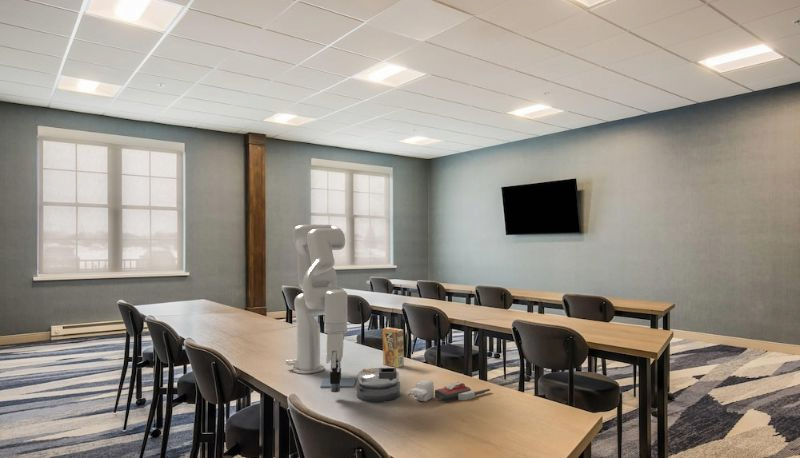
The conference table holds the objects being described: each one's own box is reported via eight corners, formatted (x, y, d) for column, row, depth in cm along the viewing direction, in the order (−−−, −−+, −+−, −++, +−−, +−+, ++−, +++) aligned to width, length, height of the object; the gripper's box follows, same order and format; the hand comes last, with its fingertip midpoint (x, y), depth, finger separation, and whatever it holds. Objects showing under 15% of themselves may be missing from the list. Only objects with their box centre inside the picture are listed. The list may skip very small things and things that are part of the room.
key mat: (320, 387, 169) (320, 386, 169) (323, 379, 179) (323, 377, 179) (353, 387, 169) (353, 385, 169) (355, 379, 179) (355, 377, 179)
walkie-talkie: (447, 406, 150) (492, 394, 162) (447, 392, 150) (491, 381, 162) (430, 398, 158) (474, 388, 169) (430, 385, 158) (474, 375, 169)
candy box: (404, 365, 197) (404, 329, 198) (397, 367, 194) (397, 330, 195) (388, 362, 203) (388, 326, 204) (382, 364, 200) (381, 328, 200)
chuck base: (355, 403, 153) (355, 390, 153) (357, 388, 168) (357, 377, 168) (401, 402, 153) (401, 389, 153) (399, 387, 168) (399, 376, 168)
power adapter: (417, 407, 148) (417, 389, 148) (405, 404, 151) (404, 386, 151) (435, 398, 157) (435, 380, 157) (423, 395, 160) (423, 378, 160)
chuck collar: (356, 389, 153) (356, 373, 153) (358, 376, 167) (358, 362, 167) (399, 388, 154) (399, 373, 154) (397, 376, 168) (397, 362, 168)
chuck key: (330, 392, 155) (330, 362, 155) (331, 389, 158) (331, 359, 158) (339, 392, 156) (339, 362, 155) (340, 389, 159) (340, 359, 158)
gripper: (327, 322, 165) (327, 374, 165) (321, 332, 148) (321, 390, 149) (348, 322, 165) (348, 373, 165) (345, 332, 149) (344, 390, 149)
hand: (335, 381), depth 157 cm, fingers closed on chuck key, 3 cm apart
